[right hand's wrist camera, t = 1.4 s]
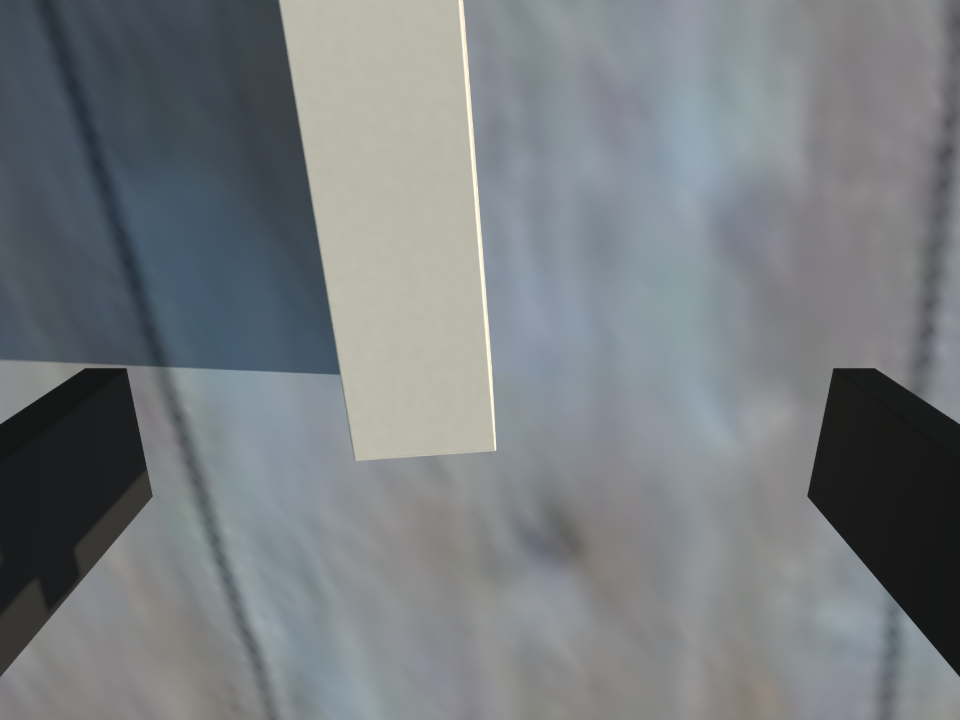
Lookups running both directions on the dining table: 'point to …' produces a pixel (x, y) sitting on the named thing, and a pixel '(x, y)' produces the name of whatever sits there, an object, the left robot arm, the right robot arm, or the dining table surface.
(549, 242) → the dining table surface
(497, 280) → the dining table surface
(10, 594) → the right robot arm
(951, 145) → the dining table surface
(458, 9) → the beam
